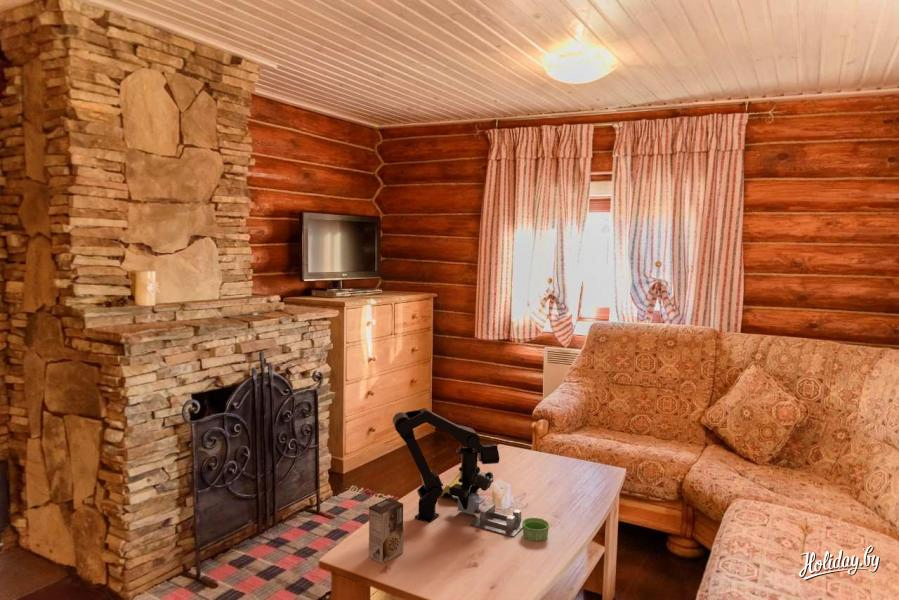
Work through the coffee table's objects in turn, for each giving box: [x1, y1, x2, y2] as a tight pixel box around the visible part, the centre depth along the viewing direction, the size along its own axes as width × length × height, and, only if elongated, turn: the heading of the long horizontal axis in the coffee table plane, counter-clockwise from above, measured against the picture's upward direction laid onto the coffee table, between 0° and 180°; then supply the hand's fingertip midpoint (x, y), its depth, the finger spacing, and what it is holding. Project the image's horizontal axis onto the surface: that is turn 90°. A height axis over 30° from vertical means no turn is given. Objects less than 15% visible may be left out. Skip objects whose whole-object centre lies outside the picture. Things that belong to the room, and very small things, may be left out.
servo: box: [451, 492, 486, 516], centre depth 219 cm, size 4×11×7 cm, turn 61°
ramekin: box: [522, 517, 550, 542], centre depth 204 cm, size 9×9×4 cm
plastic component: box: [439, 471, 462, 501], centre depth 239 cm, size 20×7×10 cm
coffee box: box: [368, 497, 404, 565], centre depth 188 cm, size 9×6×16 cm
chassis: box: [470, 502, 526, 538], centre depth 212 cm, size 14×16×4 cm
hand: (468, 507), depth 219 cm, fingers closed on servo, 4 cm apart
